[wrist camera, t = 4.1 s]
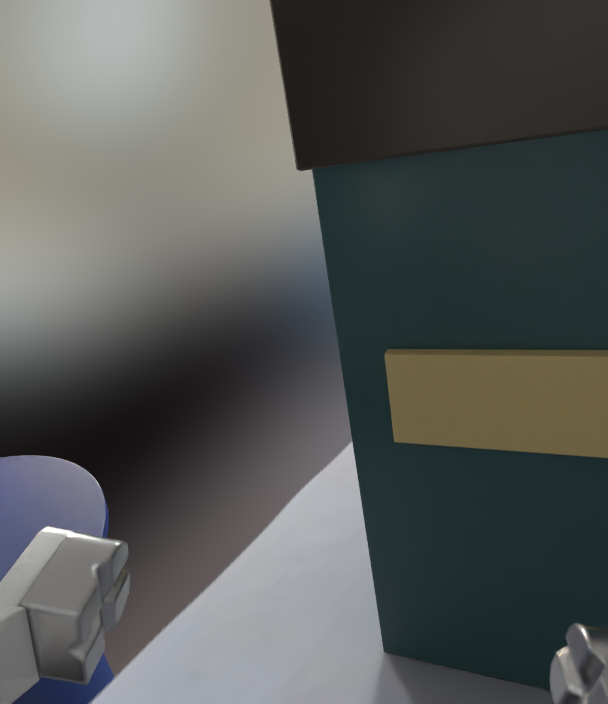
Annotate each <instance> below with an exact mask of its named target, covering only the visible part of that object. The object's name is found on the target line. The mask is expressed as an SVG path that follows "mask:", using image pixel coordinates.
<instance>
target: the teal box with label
mask: <svg viewBox="0 0 608 704" xmlns="http://www.w3.org/2000/svg"><path fill="white" fill-rule="evenodd" d="M312 173H313V179H314V185H315V192H316V199H317V206H318V213H319V220H320V226H321V232H322V240H323V246H324V252H325V260H326V266H327V273H328V280H329V287H330V293H331V300H332V307H333V313H334V320H335V326H336V334H337V340H338V347H339V353H340V360H341V367H342V373H343V380H344V387H345V394H346V400H347V407H348V414H349V421H350V427H351V434H352V441H353V447H354V454H355V461H356V468H357V474H358V481H359V488H360V494H361V501H362V508H363V514H364V521H365V528H366V535H367V541H368V548H369V555H370V561H371V568H372V575H373V581H374V588H375V595H376V602H377V608H378V615H379V622H380V628H381V635H382V642H383V648H384V652H387V653H392V654H396V655H400V656H405V657H409V658H413V659H417V660H422V661H426V662H430V663H435V664H439V665H443V666H448V667H452V668H456V669H461V670H465V671H469V672H474V673H478V674H482V675H487V676H491V677H495V678H499V679H504V680H508V681H512V682H517V683H521V684H525V685H530V686H534V687H538V688H543V689H547V690H551V688H550V668H551V662H552V660H553V658H554V656H555V654H556V651H558V650H560V649H562V648H564V647H566V646H568V643H567V640H566V637H565V634H566V632H567V631H568V629H569V627H570V626H571V625H573V624H575V623H581V624H587V625H593V626H599V627H605V628H608V129H605V130H598V131H591V132H583V133H576V134H568V135H561V136H554V137H546V138H539V139H532V140H524V141H517V142H509V143H502V144H495V145H487V146H480V147H473V148H465V149H458V150H451V151H443V152H436V153H428V154H421V155H414V156H406V157H399V158H392V159H384V160H377V161H369V162H362V163H355V164H347V165H340V166H333V167H325V168H318V169H312Z"/></svg>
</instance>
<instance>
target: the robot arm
mask: <svg viewBox="0 0 608 704" xmlns="http://www.w3.org/2000/svg"><path fill="white" fill-rule="evenodd" d="M127 557H128V547H127V543H126V542H123V541H118V540H113V539H108V538H104V537H99V536H94V535H89V534H85V533H80V532H75V531H69V530H64V529H59V528H54V527H49V526H47V527H45V528H44V529H43V530H41V531H40V532H38V534H37V535H36V536H35V537H34V539H33V540H32V541H31V543H30V544H29V545H28V547H27V548H26V549H25V551H24V552H23V553H22V554H21V556H20V557H19V558H18V560H17V561H16V562H15V564H14V565H13V566H12V567H11V569H10V570H9V571H8V573H7V574H6V575H5V577H4V578H3V579H2V581H1V582H0V704H11V703H13V702H14V701H15V700H16V699H17V698H19V697H20V696H21V695H22V694H23V693H25V692H26V691H27V690H28V689H29V688H30V687H32V686H33V685H34V684H35V683H36V682H38V681H39V677H43V678H49V679H55V680H61V681H67V682H73V683H79V684H85V685H87V684H88V682H89V680H90V678H91V676H92V674H93V672H94V670H95V668H96V666H97V664H98V662H99V660H100V658H101V656H102V654H103V651H104V649H105V644H104V634H105V633H106V632H107V631H109V630H110V629H112V628H113V627H114V626H116V624H117V623H118V620H119V618H120V616H121V614H122V612H123V609H124V606H125V602H126V599H127V596H128V591H129V583H130V576H129V571H128V570H127V569H126V568H125V567H124V566H123V565H124V563H125V561H126V559H127ZM565 637H566V640H567V643H568V646H566V647H564V648H562V649H560V650H558V651H556V654H555V656H554V658H553V660H552V662H551V668H550V688H551V695H552V698H553V702H554V704H608V628H605V627H599V626H593V625H587V624H581V623H575V624H573V625H571V626H570V627H569V629H568V631H567V632H566V634H565Z"/></svg>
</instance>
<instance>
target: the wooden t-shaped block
mask: <svg viewBox="0 0 608 704" xmlns="http://www.w3.org/2000/svg"><path fill="white" fill-rule="evenodd" d="M270 6H271V11H272V18H273V23H274V24H273V25H274V31H275V37H276V43H277V49H278V56H279V62H280V68H281V75H282V80H283V87H284V93H285V99H286V106H287V111H288V118H289V124H290V131H291V137H292V143H293V149H294V155H295V162H296V167H297V169H298V170H300V171H303V170H310V169H318V168H325V167H333V166H340V165H347V164H355V163H362V162H369V161H377V160H384V159H392V158H399V157H406V156H414V155H421V154H428V153H436V152H443V151H451V150H458V149H465V148H473V147H480V146H487V145H495V144H502V143H509V142H517V141H524V140H532V139H539V138H546V137H554V136H561V135H568V134H576V133H583V132H591V131H598V130H605V129H608V0H270Z"/></svg>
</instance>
